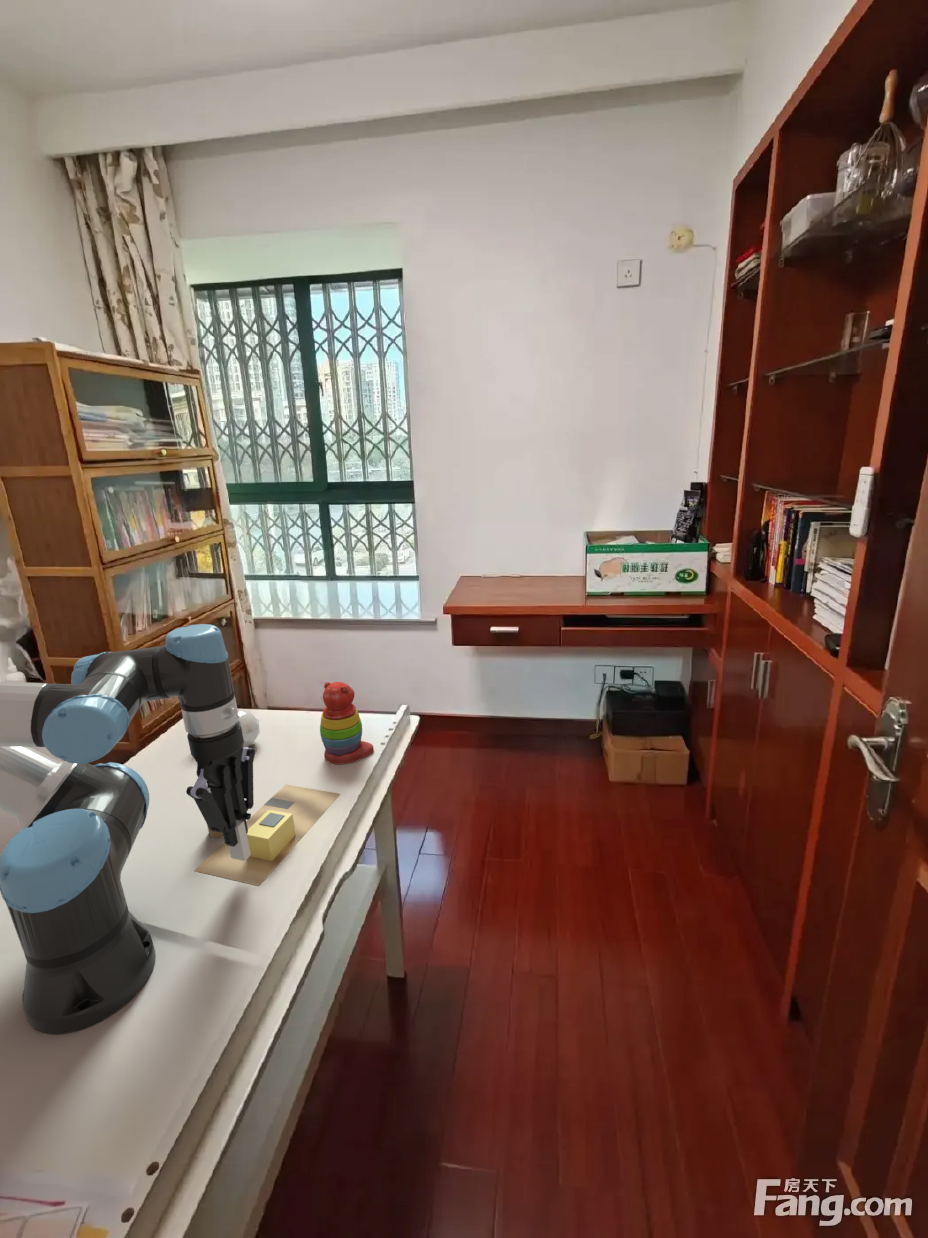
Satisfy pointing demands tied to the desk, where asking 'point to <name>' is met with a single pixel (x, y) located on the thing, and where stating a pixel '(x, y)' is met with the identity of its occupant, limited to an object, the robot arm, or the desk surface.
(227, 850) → the board
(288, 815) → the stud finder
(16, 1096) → the desk surface
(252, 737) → the potion bottle
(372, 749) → the stacking bear
